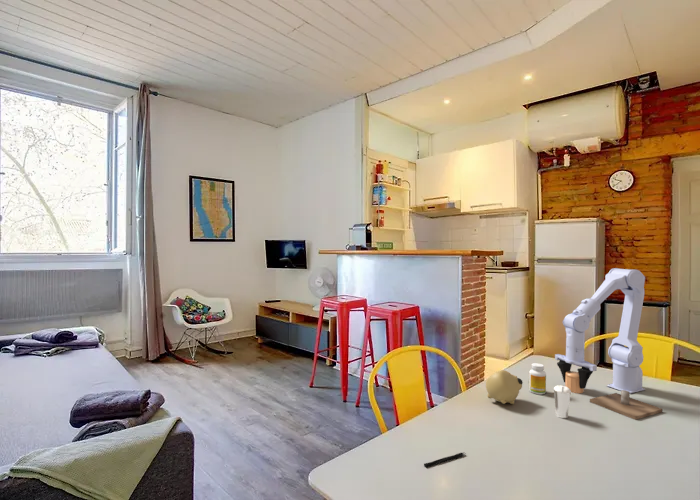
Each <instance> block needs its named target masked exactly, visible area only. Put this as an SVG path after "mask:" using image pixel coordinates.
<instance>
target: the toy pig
mask: <svg viewBox="0 0 700 500" xmlns="http://www.w3.org/2000/svg"><path fill="white" fill-rule="evenodd" d="M523 383H524V382H523V380H522V379H521V378H520V377H518V376H517V375H514V374H511V372H509V371H507V370H498V371H494V373H492V374H490V375H489V376H488V378H487V379H486V381H485V388H486V391H487V392H486V393H487V395H486V396H487V398H488V399H491V400H492V399H493V400H495V401H497V402H499V403H501V404H506V403H509V404H511V405H514V404H515V400H516V399H517V398H518V396H519V393H520V390H521V389H522V388H523Z"/></svg>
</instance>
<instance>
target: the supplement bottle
mask: <svg viewBox="0 0 700 500" xmlns="http://www.w3.org/2000/svg"><path fill="white" fill-rule="evenodd" d="M546 388H547V373H546V372H545V365H544V364H542V363H537V362H533V363H531V369H530V370H529V372H528V391H529V393H532V394H535V395H545V394H546V391H547V389H546Z"/></svg>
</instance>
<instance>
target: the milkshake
mask: <svg viewBox="0 0 700 500" xmlns="http://www.w3.org/2000/svg"><path fill="white" fill-rule="evenodd" d="M553 394H554V401H555V402H554V403H555V404H554V406H555V408H554V409H555V416H556V417H557V418H560V419H567V418H569V409H570V401H571V395H572V392H571V390H570V389H569V388H568V387H566V386H565V385H560V384H559V385H558V384H557V385H555V386H554V387H553Z"/></svg>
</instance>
